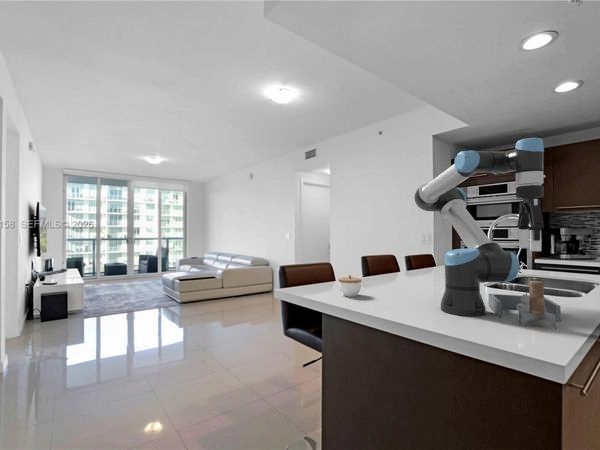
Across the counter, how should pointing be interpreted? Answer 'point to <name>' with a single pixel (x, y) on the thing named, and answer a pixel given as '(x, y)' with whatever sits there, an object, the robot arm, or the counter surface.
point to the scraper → (537, 309)
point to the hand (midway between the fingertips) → (529, 249)
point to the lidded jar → (350, 286)
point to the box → (512, 300)
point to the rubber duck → (524, 303)
